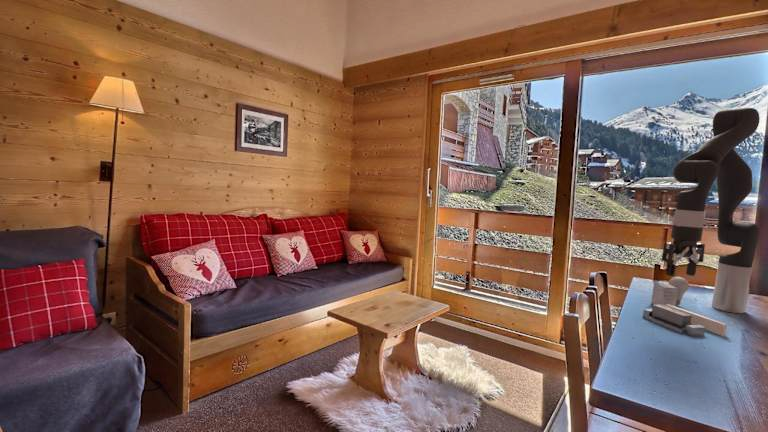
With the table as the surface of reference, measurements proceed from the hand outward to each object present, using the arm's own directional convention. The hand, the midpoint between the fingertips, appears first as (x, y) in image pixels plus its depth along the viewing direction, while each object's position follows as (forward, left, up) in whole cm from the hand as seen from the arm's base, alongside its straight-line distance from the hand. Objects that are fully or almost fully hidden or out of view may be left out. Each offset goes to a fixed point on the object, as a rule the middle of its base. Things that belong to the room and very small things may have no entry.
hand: (680, 275), depth 121 cm
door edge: (-8, 0, -16) cm, 18 cm away
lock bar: (+1, 0, -16) cm, 16 cm away
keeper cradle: (+1, 0, -16) cm, 16 cm away
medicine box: (-14, -15, -17) cm, 26 cm away
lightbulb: (-23, -17, -16) cm, 33 cm away
